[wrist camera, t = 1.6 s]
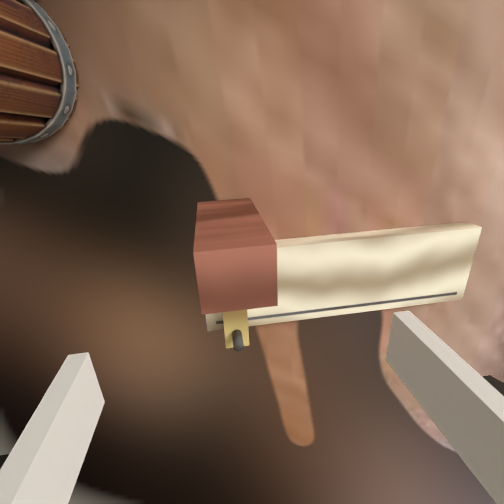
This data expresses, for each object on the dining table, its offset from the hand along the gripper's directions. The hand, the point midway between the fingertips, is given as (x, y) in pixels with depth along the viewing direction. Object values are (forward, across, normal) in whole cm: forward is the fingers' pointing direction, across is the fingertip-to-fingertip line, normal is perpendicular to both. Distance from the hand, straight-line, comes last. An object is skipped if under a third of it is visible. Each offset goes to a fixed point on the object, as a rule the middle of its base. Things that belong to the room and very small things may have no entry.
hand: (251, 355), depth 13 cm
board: (+19, +12, -6) cm, 23 cm away
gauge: (+18, 0, -5) cm, 19 cm away
